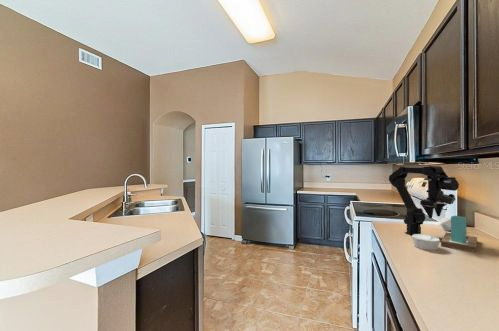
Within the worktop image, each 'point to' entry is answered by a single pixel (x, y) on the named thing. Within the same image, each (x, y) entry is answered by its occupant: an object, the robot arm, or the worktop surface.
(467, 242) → the puzzle board
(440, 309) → the worktop surface
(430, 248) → the ramekin
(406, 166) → the robot arm
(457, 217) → the teal block
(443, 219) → the die
